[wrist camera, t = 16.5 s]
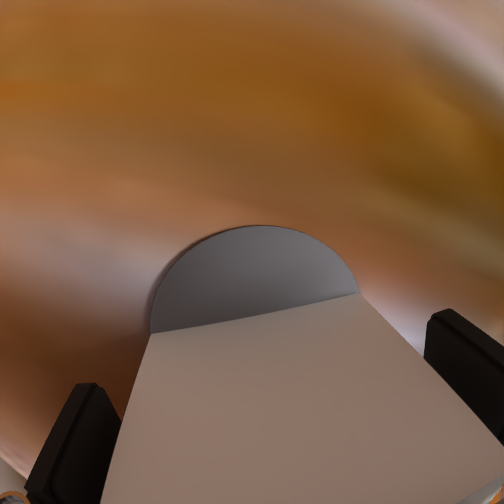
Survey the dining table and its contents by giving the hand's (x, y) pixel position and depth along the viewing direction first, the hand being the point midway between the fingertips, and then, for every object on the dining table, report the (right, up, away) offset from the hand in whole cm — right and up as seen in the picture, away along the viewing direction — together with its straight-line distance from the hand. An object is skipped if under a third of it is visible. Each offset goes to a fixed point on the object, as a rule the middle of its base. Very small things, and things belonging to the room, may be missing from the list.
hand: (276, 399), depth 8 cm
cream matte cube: (0, -2, +4) cm, 5 cm away
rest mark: (0, +1, +4) cm, 4 cm away
